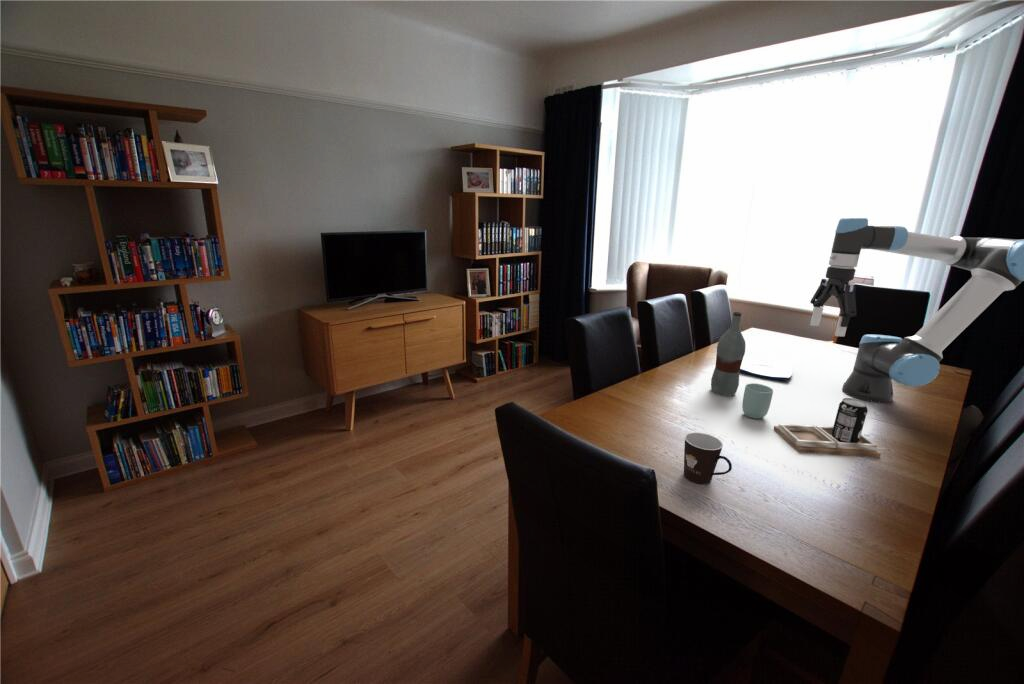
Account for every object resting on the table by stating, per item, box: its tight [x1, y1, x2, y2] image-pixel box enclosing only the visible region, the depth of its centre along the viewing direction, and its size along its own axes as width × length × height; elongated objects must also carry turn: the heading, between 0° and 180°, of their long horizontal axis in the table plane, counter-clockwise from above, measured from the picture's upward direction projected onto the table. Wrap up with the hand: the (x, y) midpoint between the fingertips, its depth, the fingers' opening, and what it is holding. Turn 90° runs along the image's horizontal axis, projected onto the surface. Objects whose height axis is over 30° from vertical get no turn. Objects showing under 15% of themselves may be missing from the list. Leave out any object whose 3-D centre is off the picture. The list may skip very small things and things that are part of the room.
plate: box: [739, 356, 793, 380], centre depth 192 cm, size 20×20×3 cm
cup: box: [741, 382, 774, 420], centre depth 148 cm, size 8×8×10 cm
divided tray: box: [773, 423, 882, 458], centre depth 133 cm, size 22×14×3 cm, turn 87°
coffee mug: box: [683, 432, 733, 485], centre depth 110 cm, size 12×9×10 cm
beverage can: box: [832, 397, 869, 443], centre depth 131 cm, size 7×7×12 cm
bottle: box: [710, 311, 746, 397], centre depth 164 cm, size 9×9×30 cm
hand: (826, 330), depth 153 cm, fingers open, 13 cm apart
